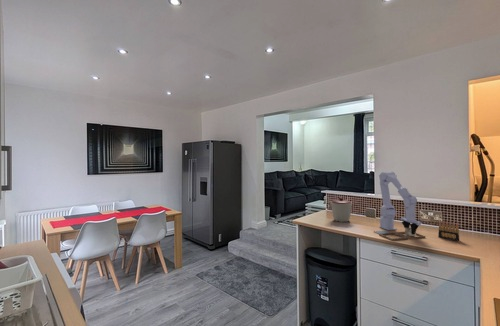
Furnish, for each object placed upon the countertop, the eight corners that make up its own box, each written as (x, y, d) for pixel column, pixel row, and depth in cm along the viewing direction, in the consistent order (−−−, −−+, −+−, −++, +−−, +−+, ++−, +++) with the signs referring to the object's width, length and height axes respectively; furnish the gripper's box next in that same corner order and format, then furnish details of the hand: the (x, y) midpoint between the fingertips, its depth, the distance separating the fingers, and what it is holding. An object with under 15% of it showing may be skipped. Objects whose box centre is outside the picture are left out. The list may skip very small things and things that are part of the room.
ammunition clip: (438, 237, 162) (438, 219, 162) (438, 236, 163) (438, 219, 163) (458, 241, 154) (458, 222, 154) (459, 240, 155) (459, 222, 155)
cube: (404, 234, 167) (404, 227, 167) (410, 233, 168) (410, 227, 168) (410, 236, 163) (410, 229, 163) (415, 235, 164) (415, 229, 164)
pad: (373, 231, 176) (373, 231, 176) (385, 231, 178) (385, 230, 178) (380, 234, 169) (380, 234, 169) (392, 233, 171) (392, 233, 171)
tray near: (379, 235, 168) (379, 233, 168) (393, 234, 170) (393, 232, 170) (392, 240, 156) (392, 239, 156) (407, 239, 158) (407, 237, 158)
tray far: (396, 233, 170) (396, 232, 170) (410, 232, 173) (410, 231, 173) (410, 239, 159) (410, 237, 159) (425, 237, 161) (425, 236, 161)
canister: (326, 219, 216) (326, 196, 216) (343, 217, 222) (342, 195, 222) (339, 224, 199) (339, 199, 199) (357, 222, 205) (356, 197, 205)
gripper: (396, 211, 172) (397, 230, 172) (414, 216, 158) (414, 236, 158) (405, 211, 173) (405, 229, 173) (423, 215, 159) (423, 235, 159)
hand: (410, 233), depth 166 cm, fingers closed on cube, 4 cm apart
